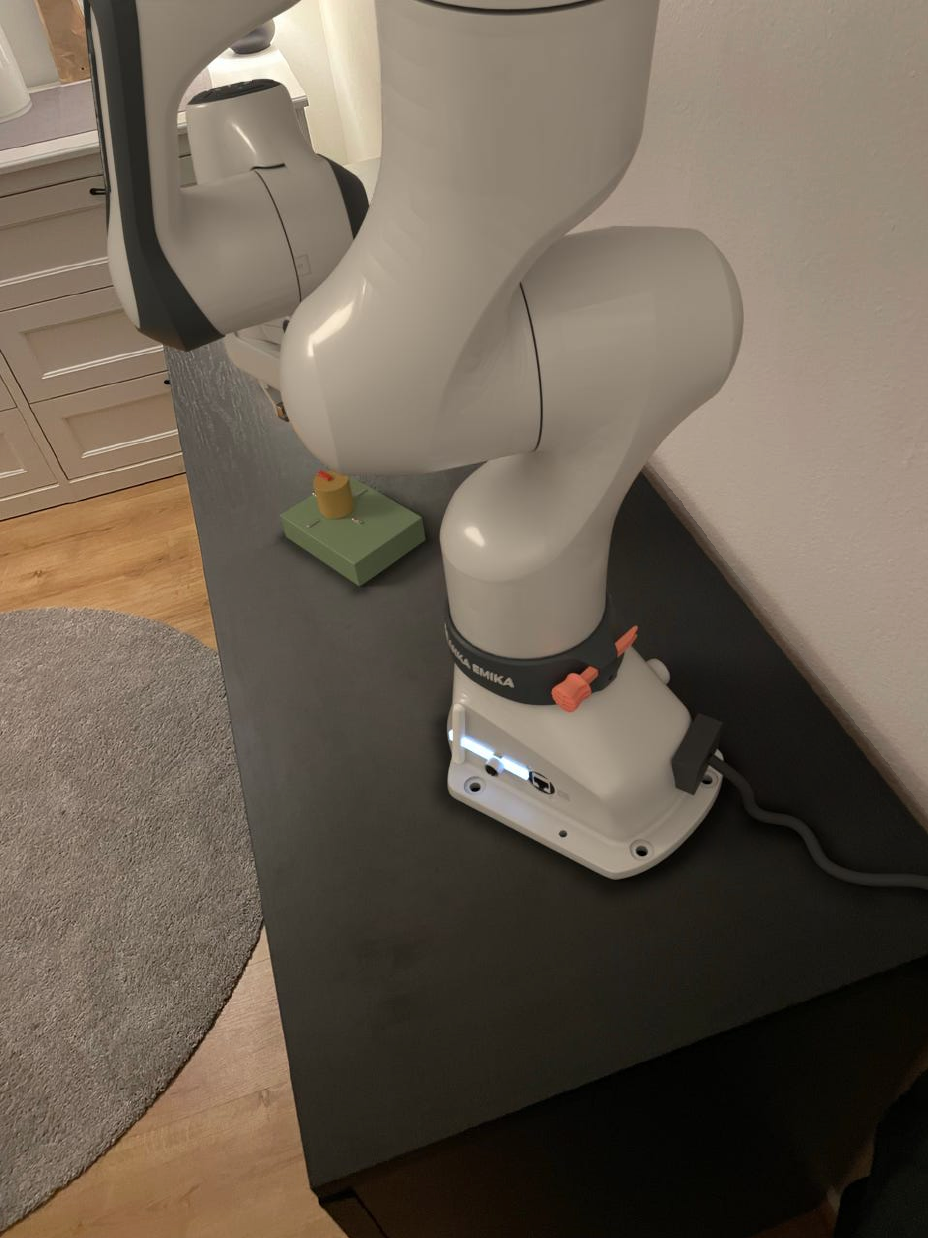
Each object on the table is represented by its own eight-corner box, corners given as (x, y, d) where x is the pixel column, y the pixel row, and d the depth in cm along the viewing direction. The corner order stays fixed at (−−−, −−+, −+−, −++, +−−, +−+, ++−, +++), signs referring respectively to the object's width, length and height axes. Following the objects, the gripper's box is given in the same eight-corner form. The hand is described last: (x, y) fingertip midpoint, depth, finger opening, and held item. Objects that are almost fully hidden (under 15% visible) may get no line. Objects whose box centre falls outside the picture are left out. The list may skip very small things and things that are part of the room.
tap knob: (361, 506, 91) (355, 475, 88) (334, 523, 89) (327, 493, 86) (339, 492, 93) (332, 462, 90) (312, 509, 91) (304, 479, 88)
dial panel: (426, 540, 91) (422, 515, 88) (359, 587, 87) (353, 563, 84) (351, 495, 97) (345, 471, 95) (286, 537, 93) (278, 513, 91)
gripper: (185, 278, 79) (228, 412, 89) (331, 348, 68) (361, 491, 78) (243, 252, 82) (278, 384, 92) (391, 315, 71) (413, 457, 81)
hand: (318, 434), depth 85 cm, fingers open, 8 cm apart
